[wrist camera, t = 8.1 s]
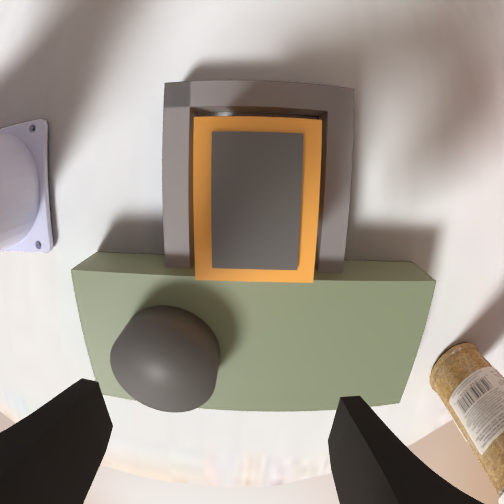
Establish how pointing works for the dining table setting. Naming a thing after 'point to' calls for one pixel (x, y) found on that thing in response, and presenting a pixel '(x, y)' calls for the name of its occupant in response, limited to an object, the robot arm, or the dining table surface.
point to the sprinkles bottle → (474, 405)
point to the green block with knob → (252, 289)
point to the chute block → (256, 198)
